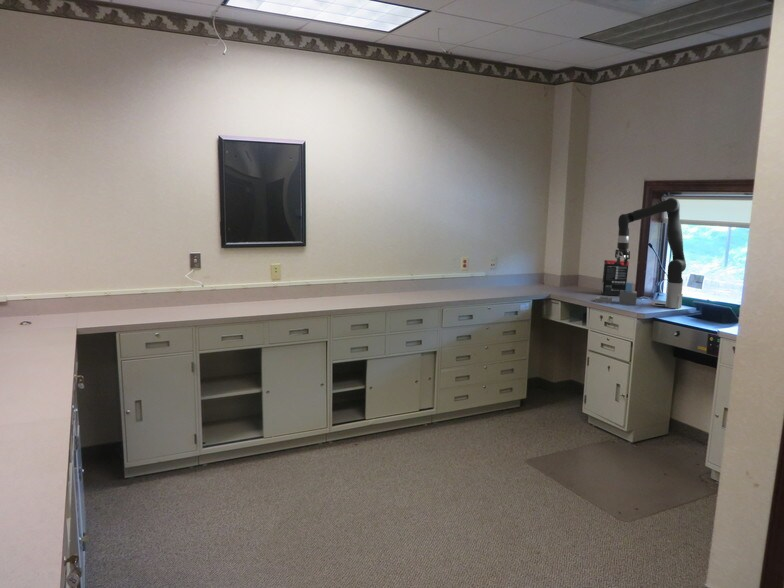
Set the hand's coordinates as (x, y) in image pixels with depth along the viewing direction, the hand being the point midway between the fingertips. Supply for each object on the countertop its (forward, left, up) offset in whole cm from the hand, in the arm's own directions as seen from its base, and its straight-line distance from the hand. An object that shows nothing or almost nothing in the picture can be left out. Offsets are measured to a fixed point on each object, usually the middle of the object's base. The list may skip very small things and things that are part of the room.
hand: (621, 264), depth 412 cm
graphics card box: (+14, -22, -27) cm, 38 cm away
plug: (-9, +5, -21) cm, 23 cm away
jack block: (-2, +9, -27) cm, 28 cm away
